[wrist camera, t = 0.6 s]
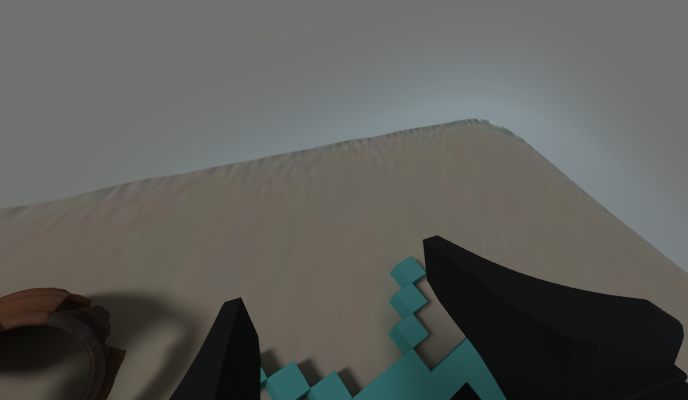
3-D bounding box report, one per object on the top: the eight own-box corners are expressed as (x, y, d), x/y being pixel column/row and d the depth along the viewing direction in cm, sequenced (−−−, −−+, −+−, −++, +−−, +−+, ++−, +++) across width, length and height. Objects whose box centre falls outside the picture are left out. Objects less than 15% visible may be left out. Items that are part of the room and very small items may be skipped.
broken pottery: (137, 293, 28) (142, 296, 21) (102, 429, 25) (95, 483, 18) (-79, 275, 22) (-170, 270, 15) (-156, 450, 19) (-310, 540, 12)
